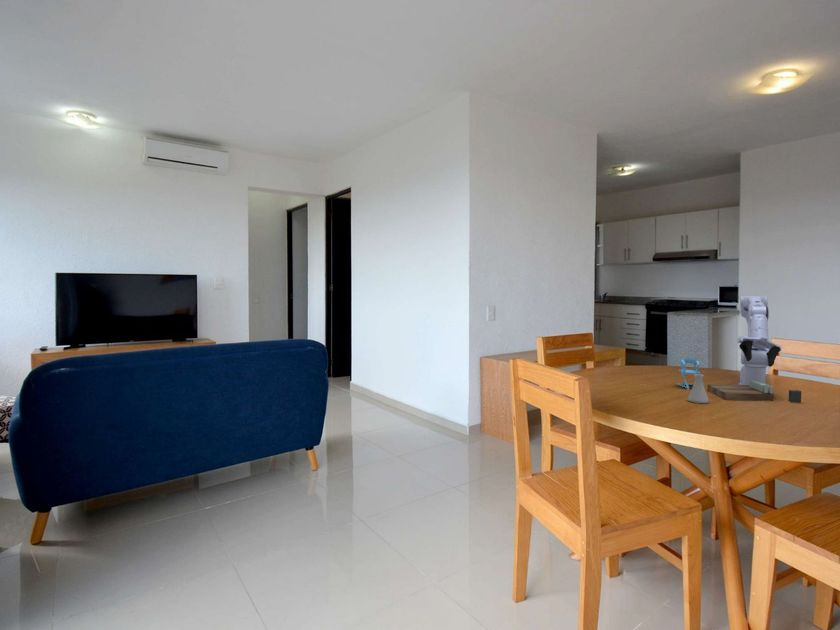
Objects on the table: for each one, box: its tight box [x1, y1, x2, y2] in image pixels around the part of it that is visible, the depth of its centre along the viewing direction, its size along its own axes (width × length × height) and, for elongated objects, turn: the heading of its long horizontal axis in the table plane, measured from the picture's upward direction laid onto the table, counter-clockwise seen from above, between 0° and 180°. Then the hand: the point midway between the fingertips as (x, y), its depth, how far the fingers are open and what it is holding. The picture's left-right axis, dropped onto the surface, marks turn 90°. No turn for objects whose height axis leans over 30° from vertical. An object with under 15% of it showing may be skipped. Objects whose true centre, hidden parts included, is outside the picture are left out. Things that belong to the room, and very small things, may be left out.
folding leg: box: [749, 380, 774, 394], centre depth 182 cm, size 11×3×2 cm, turn 171°
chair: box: [676, 358, 701, 390], centre depth 200 cm, size 8×8×12 cm
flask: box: [687, 373, 710, 404], centre depth 177 cm, size 7×7×10 cm
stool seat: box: [707, 383, 775, 402], centre depth 186 cm, size 16×16×2 cm
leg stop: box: [788, 389, 802, 403], centre depth 174 cm, size 2×3×4 cm, turn 82°
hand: (760, 362), depth 180 cm, fingers open, 7 cm apart
